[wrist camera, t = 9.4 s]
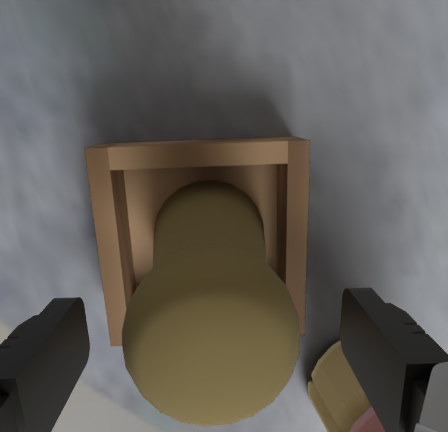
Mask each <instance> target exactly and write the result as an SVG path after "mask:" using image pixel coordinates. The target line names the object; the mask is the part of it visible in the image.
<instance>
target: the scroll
mask: <svg viewBox="0 0 448 432" xmlns="http://www.w3.org/2000/svg"><path fill="white" fill-rule="evenodd" d="M311 376H312V380H313V381H309V382H308V389H307V392H308V395H309V397H310V400H311V402H312V404H313V406H314V408H315V410H316V411H317V413H318V415H319V417H320V419H321V421H322V422H323V424H324V426H325V428H326V430H327V431H328V432H385V430H384V428H383V426H382V424H381V422H380V421H379V419H378V417H377V415H376V413H375V411H374V410H373V408H372V406H371V404H370V402H369V400H368V398H367V397H366V395H365V393H364V391H363V389H362V387H361V385H360V384H359V382H358V380H357V378H356V376H355V374H354V373H353V371H352V369H351V367H350V365H349V363H348V361H347V360H346V358H345V356H344V354H343V351H342V347H341V342H340V341H338V342H337V343H335V344H334V345H332V346H331V347H330V348H329V349H328V350H327V351H326V352H325V354H324V355H323V356H322V357H321V358H320V359H319V360H318V362H317V364H316V366H315V368H314V370H313V372H312V374H311Z"/></svg>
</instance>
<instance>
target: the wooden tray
mask: <svg viewBox="0 0 448 432" xmlns="http://www.w3.org/2000/svg"><path fill="white" fill-rule="evenodd" d="M84 150H85V157H86V165H87V172H88V180H89V187H90V195H91V202H92V210H93V217H94V225H95V232H96V240H97V247H98V254H99V262H100V269H101V277H102V284H103V292H104V299H105V307H106V314H107V322H108V329H109V336H110V344H111V346H122V328H123V323H124V318H125V313H126V308H127V305H128V303H129V301H130V299H131V297H132V295H133V294H134V292H135V290H136V289H137V287H138V286H139V284H140V282H141V281H142V279H143V277H144V276H145V275H146V274H147V273H148V272H150V271H151V270H152V267H153V240H154V227H155V223H156V218H157V214H158V212H159V210H160V209H161V207H162V205H163V204H164V202H165V200H166V199H167V198H168V197H170V196H171V195H172V194H173V193H174V192H175V191H177V190H178V189H179V188H181V187H183V186H186V185H188V184H191V183H193V182H196V181H207V180H216V181H220V182H225V183H229V184H232V185H234V186H235V187H237V188H238V189H240V190H242V191H243V192H245V193H246V194H247V195H248V196H249V197H250V198H251V200H252V201H253V202H254V203H255V204H256V206H257V207H258V210H259V212H260V215H261V217H262V220H263V224H264V236H265V248H266V259H267V265H269V266H270V267H271V269H272V270H273V271H274V272H275V273H276V274H277V276H278V277H279V278H280V279H281V280H282V281H283V282H284V284H285V285H286V287H287V289H288V291H289V293H290V295H291V297H292V300H293V303H294V305H295V308H296V310H297V313H298V316H299V336H303V335H304V324H305V292H306V259H307V227H308V195H309V163H310V140H307V139H302V138H298V137H266V138H238V139H210V140H182V141H154V142H126V143H104V144H100V145H96V146H92V147H88V148H84Z"/></svg>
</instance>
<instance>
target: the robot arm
mask: <svg viewBox="0 0 448 432" xmlns="http://www.w3.org/2000/svg"><path fill="white" fill-rule="evenodd" d="M340 342H341V347H342V351H343V354H344V356H345V358H346V360H347V361H348V363H349V365H350V367H351V369H352V371H353V373H354V374H355V376H356V378H357V380H358V382H359V384H360V385H361V387H362V389H363V391H364V393H365V395H366V397H367V398H368V400H369V402H370V404H371V406H372V408H373V410H374V411H375V413H376V415H377V417H378V419H379V421H380V422H381V424H382V426H383V428H384V430H385V432H448V354H447V353H446V352H445V351H444V350H443V349H442V348H441V347H440V346H439V345H438V344H437V343H436V342H435V341H434V340H433V339H432V338H431V337H430V336H429V335H428V334H426V333H425V331H424V330H423V329H422V328H421V327H420V326H419V325H417V323H416V322H415V321H414V320H413V319H412V318H411V316H410V315H409V314H408V313H407V312H405V311H403V310H402V309H400V308H398V307H396V306H395V305H393V304H391V303H385V302H384V301H383V300H382V299H381V298H380V297H379V296H378V295H377V294H376V293H375V291H374V290H373V289H372V288H347V289H345V290H344V292H343V296H342V311H341V326H340ZM89 350H90V343H89V335H88V329H87V322H86V315H85V308H84V303H83V300H82V299H81V298H79V297H78V298H54V299H53V300H52V301H51V302H50V303H49V304H48V305H47V306H46V307H45V309H44V310H43V311H42V312H41V313H40V314H39V315H35V316H33V317H31V318H30V319H28V320H27V321H25V322H23V323H22V324H20V325H18V326H17V328H16V329H15V330H14V331H13V332H12V333H11V334H10V335H9V336H8V338H7V339H5V340H4V341H3V342H2V344H0V432H51V431H52V429H53V427H54V425H55V423H56V421H57V419H58V417H59V415H60V414H61V411H62V410H63V408H64V406H65V404H66V402H67V400H68V398H69V396H70V394H71V392H72V390H73V389H74V387H75V385H76V383H77V381H78V379H79V377H80V375H81V373H82V371H83V370H84V368H85V366H86V364H87V361H88V357H89Z"/></svg>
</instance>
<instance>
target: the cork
mask: <svg viewBox="0 0 448 432" xmlns="http://www.w3.org/2000/svg"><path fill="white" fill-rule="evenodd" d="M122 347H123V353H124V359H125V365H126V369H127V371H128V372H129V374H130V376H131V378H132V379H133V381H134V383H135V385H136V386H137V388H138V390H139V391H140V393H141V394H142V396H143V397H144V398H145V399H146V400H147V401H148V402H150V403H151V404H152V405H153V406H154V407H155V408H156V409H157V410H159V411H160V412H161V413H163V414H165V415H167V416H170V417H172V418H174V419H176V420H178V421H180V422H183V423H189V424H195V425H201V426H214V425H225V424H232V423H235V422H237V421H240V420H243V419H246V418H248V417H251V416H254V415H255V414H256V413H258V412H259V411H261V410H262V409H263V408H265V407H266V406H268V405H269V404H271V403H272V402H273V401H274V399H275V398H276V397H277V396H278V394H279V393H280V392H281V390H282V389H283V388H284V387H285V385H286V384H287V382H288V381H289V379H290V377H291V375H292V373H293V370H294V367H295V364H296V361H297V359H298V356H299V353H300V350H299V316H298V313H297V310H296V308H295V305H294V303H293V300H292V297H291V295H290V293H289V291H288V289H287V287H286V285H285V284H284V282H283V281H282V280H281V279H280V278H279V277H278V276H277V274H276V273H275V272H274V271H273V270H272V269H271V267H270V266H269V265H267V259H266V248H265V236H264V224H263V220H262V217H261V215H260V212H259V210H258V207H257V206H256V204H255V203H254V202H253V201H252V200H251V198H250V197H249V196H248V195H247V194H246V193H245V192H243V191H242V190H240V189H238V188H237V187H235V186H234V185H232V184H229V183H225V182H220V181H216V180H207V181H196V182H193V183H191V184H188V185H186V186H183V187H181V188H179V189H178V190H177V191H175V192H174V193H173V194H172V195H171V196H170V197H168V198H167V199H166V200H165V202H164V204H163V205H162V207H161V209H160V210H159V212H158V214H157V218H156V223H155V227H154V240H153V267H152V270H151V271H150V272H148V273H147V274H146V275H145V276H144V277H143V279H142V281H141V282H140V284H139V286H138V287H137V289H136V290H135V292H134V294H133V295H132V297H131V299H130V301H129V303H128V305H127V308H126V313H125V318H124V323H123V328H122Z"/></svg>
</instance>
